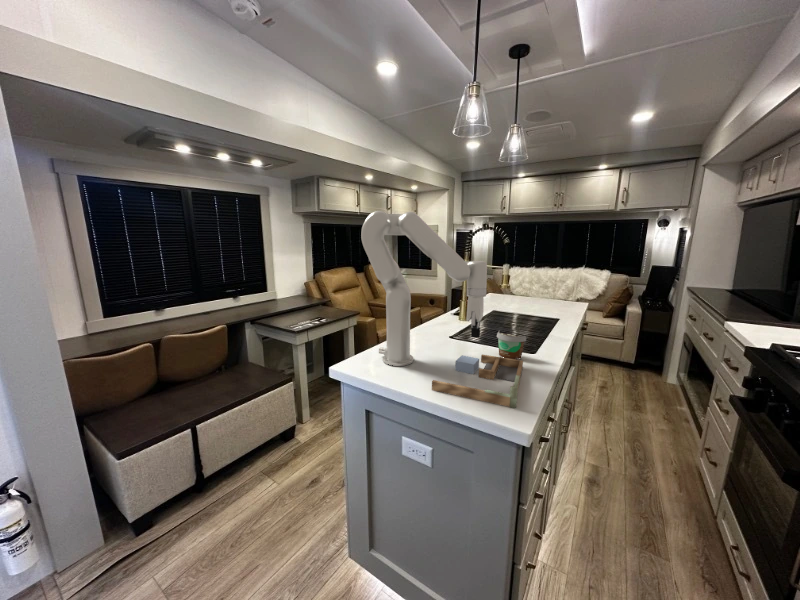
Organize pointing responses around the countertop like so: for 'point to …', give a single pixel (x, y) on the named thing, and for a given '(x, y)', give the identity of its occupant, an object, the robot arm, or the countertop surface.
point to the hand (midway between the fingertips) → (475, 336)
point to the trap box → (506, 371)
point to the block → (467, 364)
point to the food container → (510, 345)
